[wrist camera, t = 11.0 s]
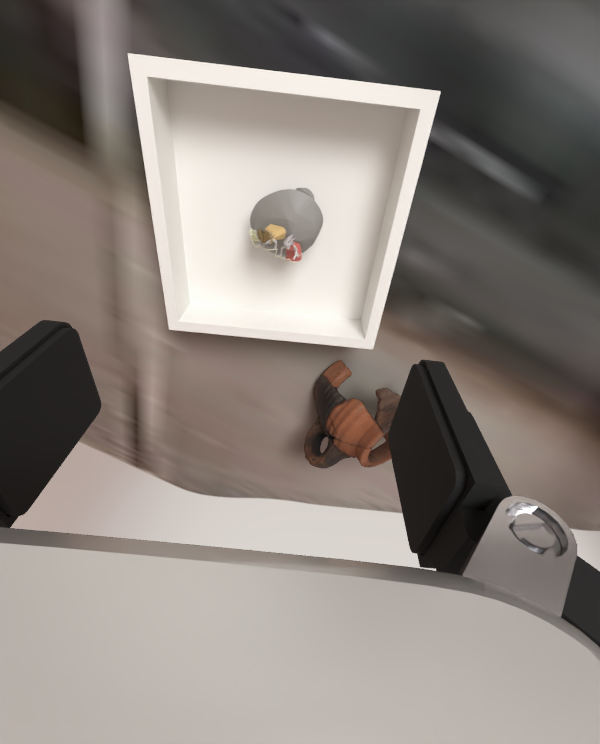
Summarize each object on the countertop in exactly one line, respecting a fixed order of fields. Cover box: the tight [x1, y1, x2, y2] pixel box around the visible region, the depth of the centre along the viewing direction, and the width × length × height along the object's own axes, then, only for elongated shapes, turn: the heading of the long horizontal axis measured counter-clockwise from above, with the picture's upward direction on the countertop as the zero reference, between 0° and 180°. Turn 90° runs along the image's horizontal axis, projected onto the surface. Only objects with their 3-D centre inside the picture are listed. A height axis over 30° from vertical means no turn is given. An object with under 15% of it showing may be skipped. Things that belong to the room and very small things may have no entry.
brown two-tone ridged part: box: [304, 360, 401, 468], centre depth 34 cm, size 12×10×8 cm
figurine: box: [249, 188, 323, 264], centre depth 22 cm, size 5×4×6 cm
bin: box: [128, 53, 441, 349], centre depth 24 cm, size 16×16×4 cm
